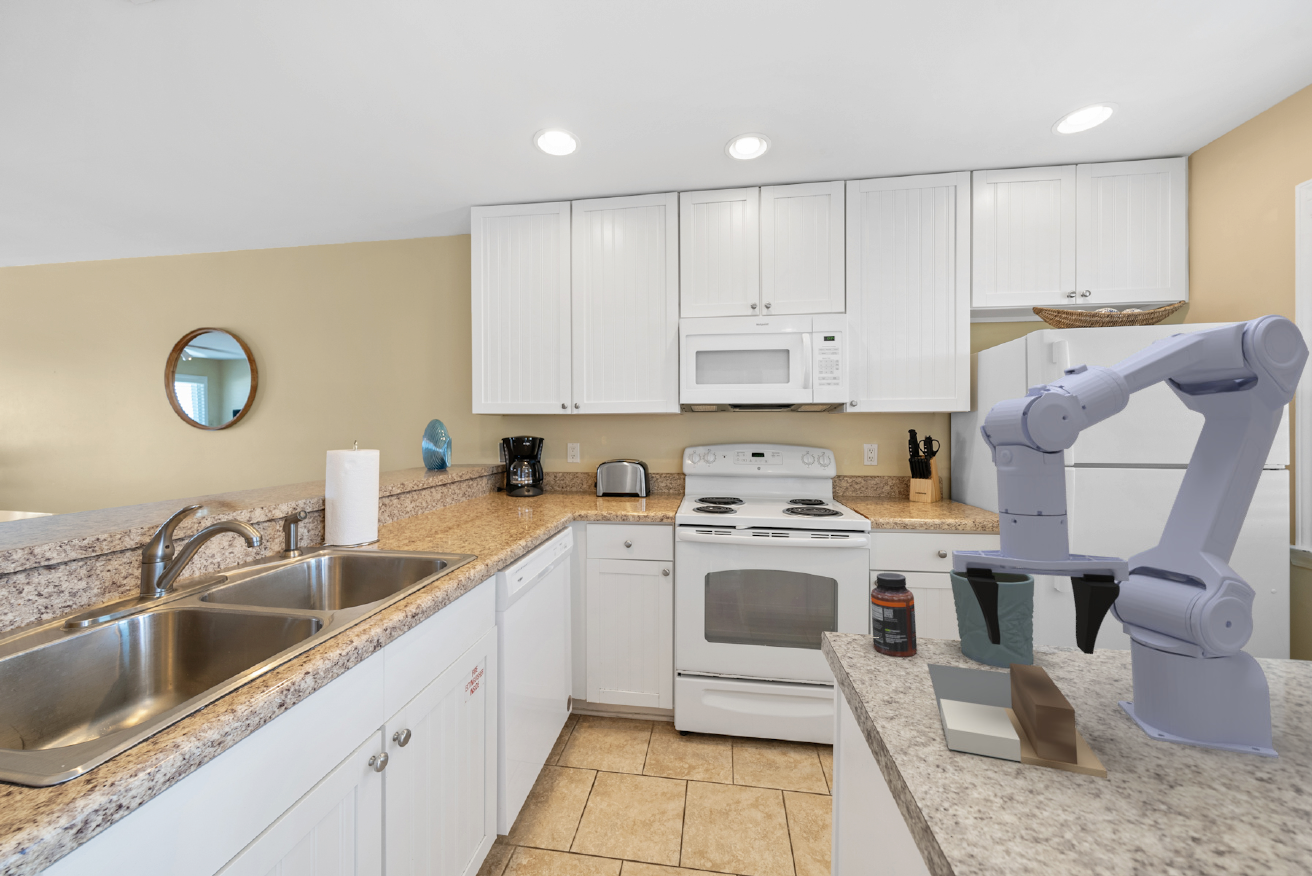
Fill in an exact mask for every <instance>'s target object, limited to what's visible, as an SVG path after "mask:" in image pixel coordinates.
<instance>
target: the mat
mask: <svg viewBox="0 0 1312 876" xmlns="http://www.w3.org/2000/svg"><path fill="white" fill-rule="evenodd" d="M926 665H927V668H928V671H929V675H930V680H931V683H932V687H933V693H934V696H935V700H936V704H937V708H938V712H939V716H940V720H941V725H942V729H943V733H944V736H945V740H946V745H947V746H948V743H947V739H946V735H945V731H944V727H943V723H942V719H941V708H940V699H946V700H953V701H960V702H967V703H974V704H981V705H988V706H995V707H1003V708H1010V709H1012V703H1011V682H1010V672H1005V671H1004V672H1003V671H995V670H987V669H985V670H984V669H977V668H970V667H961V666H953V665H952V666H951V665H944V664H936V663H927V664H926Z"/></svg>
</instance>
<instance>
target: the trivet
mask: <svg viewBox="0 0 1312 876" xmlns="http://www.w3.org/2000/svg"><path fill="white" fill-rule="evenodd" d="M1002 708H1003V707H1002ZM1004 709H1005V711H1006V713H1007V715H1008V717H1009V719H1010V721H1011V723H1012V725H1013V727H1014V729H1015V731H1016V733H1017V735H1018V737H1019V739H1020V753H1021V761H1019V763H1021V764H1025V765H1031V766H1035V767H1040V768H1048V769H1054V770H1058V771H1063V772H1064V771H1065V772H1070V773H1076V774H1081V775H1088V776H1093V777H1097V778H1103V779H1107V778H1108V770H1107V769H1106V767H1105V766H1104V765H1103V763H1102V762H1101V761H1100V759H1099V758H1098V757H1097V755H1096V754H1095V752H1094V751H1093V749H1092V748H1091V747H1090V745H1089V744H1088V743H1087V742H1086V740H1085V739H1084V737H1083V735H1082V734H1081V733H1080V732H1079V730H1078V729H1077V728H1076V746H1077V764H1071V763H1065V762H1059V761H1053V760H1048V759H1042V758H1038V757H1037V755H1036V753H1035V751H1034V749H1033V747H1032V745H1031V744H1030V742H1029V740H1028V738H1027V736H1026V734H1025V732H1024V730H1023V728H1022V726H1021V725H1020V723H1019V721H1018V719H1017V717H1016V715H1015V713H1014V711H1013V709H1010V708H1004Z"/></svg>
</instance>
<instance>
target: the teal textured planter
mask: <svg viewBox="0 0 1312 876" xmlns="http://www.w3.org/2000/svg"><path fill="white" fill-rule="evenodd" d="M992 574H993V575H995V581H996V582H997V583H998V584H999V587H998V621H999V629H1000V645H997V644H992V643H991V641H990V639H989V638H988V631H987V627H986V623H985V619H984V616H983V613H982V610H981V608H980V605H979V602H978V600H977V598H976V596H975V593H974V591H973V589H972V587H971V585H970V583H969V582H968V580H967V578H966V576H965V574H964V572H956V571H955V570H954V568H952V569H951V570H950V571H949V578H950V582H951V583H950V585H951V590H952V594H953V600H954V603H953V604H954V607H955V613H956V620H957V628H958V635H959V639H960V641H959V643H960V650H961V653H962V655H963V656H965V657H966V658H968V659H969V660H972V661H973V662H977V663H980V664H982V665H986V666H991V667H994V668H995V667H996V668H1002V669H1010V663H1014V664H1023V665H1031V666H1033V663H1034V643H1033V641H1034V637H1033V634H1034V629H1033V628H1034V622H1033V619H1034V615H1033V614H1034V612H1035V611H1034V596H1035V595H1034V594H1035V577H1034V576H1033V575H1032V574H1017V573H999V572H992Z"/></svg>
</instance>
